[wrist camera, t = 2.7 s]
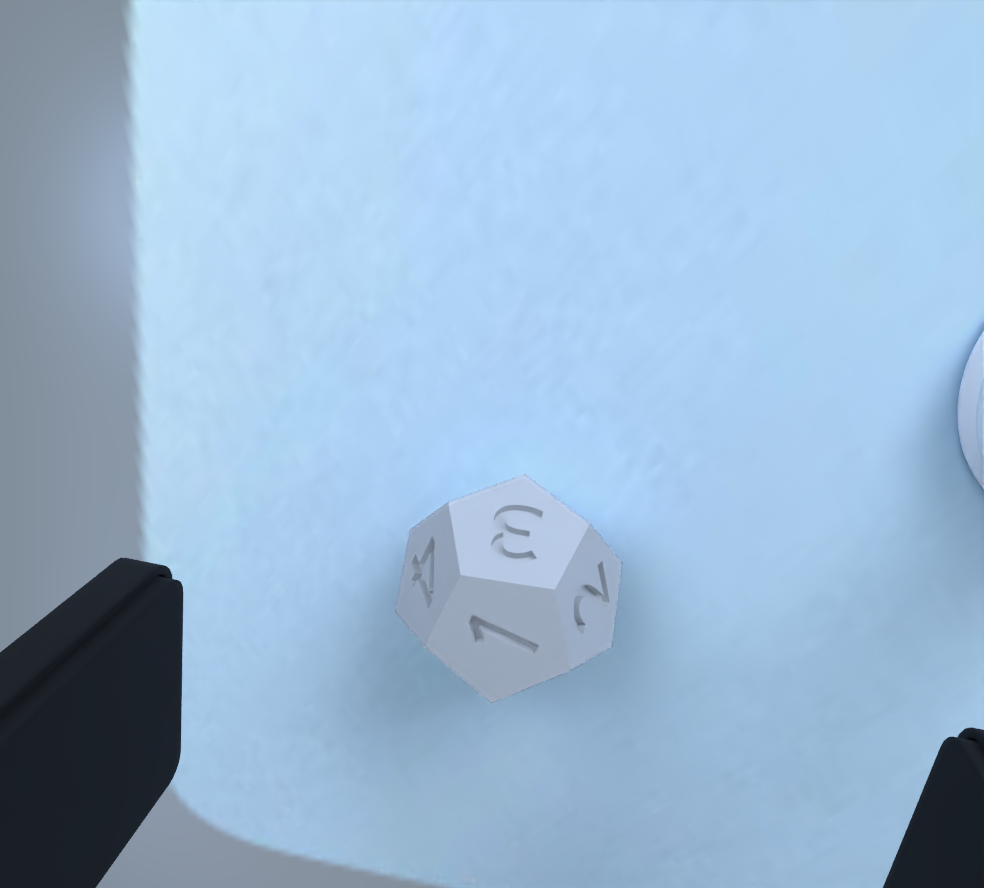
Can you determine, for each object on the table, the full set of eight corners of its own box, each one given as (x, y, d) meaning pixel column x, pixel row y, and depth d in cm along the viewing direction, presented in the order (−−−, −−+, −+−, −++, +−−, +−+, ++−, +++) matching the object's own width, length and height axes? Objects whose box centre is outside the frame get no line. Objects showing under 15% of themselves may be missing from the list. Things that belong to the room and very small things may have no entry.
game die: (565, 661, 15) (560, 775, 12) (386, 580, 15) (340, 676, 12) (656, 509, 14) (673, 596, 11) (462, 418, 14) (430, 483, 11)
